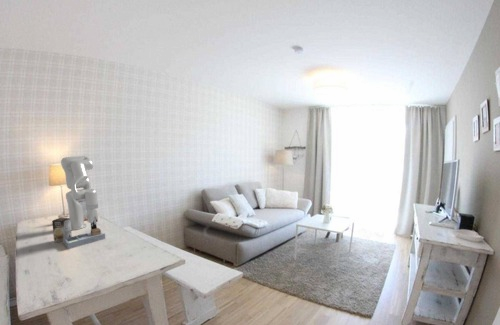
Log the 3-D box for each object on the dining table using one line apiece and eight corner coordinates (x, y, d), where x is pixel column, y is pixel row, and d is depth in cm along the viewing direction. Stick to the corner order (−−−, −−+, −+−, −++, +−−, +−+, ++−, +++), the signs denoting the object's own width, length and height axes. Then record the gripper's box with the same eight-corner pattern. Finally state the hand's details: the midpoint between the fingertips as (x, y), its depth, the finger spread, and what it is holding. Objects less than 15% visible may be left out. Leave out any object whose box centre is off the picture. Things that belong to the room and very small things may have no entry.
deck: (63, 243, 168) (62, 237, 168) (98, 233, 184) (98, 228, 184) (68, 249, 158) (67, 243, 157) (105, 238, 174) (105, 233, 174)
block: (91, 234, 175) (90, 229, 175) (98, 232, 179) (98, 227, 178) (93, 236, 172) (92, 231, 171) (100, 234, 175) (100, 229, 175)
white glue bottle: (96, 217, 229) (94, 195, 228) (96, 218, 224) (94, 196, 223) (78, 220, 221) (76, 198, 220) (78, 221, 216) (76, 199, 215)
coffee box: (53, 242, 170) (51, 220, 169) (61, 238, 176) (59, 217, 175) (65, 242, 169) (63, 220, 168) (72, 239, 176) (70, 217, 174)
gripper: (83, 206, 179) (85, 230, 180) (88, 209, 169) (91, 234, 170) (94, 204, 184) (96, 227, 186) (100, 207, 174) (103, 231, 176)
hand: (94, 230), depth 178 cm, fingers closed
